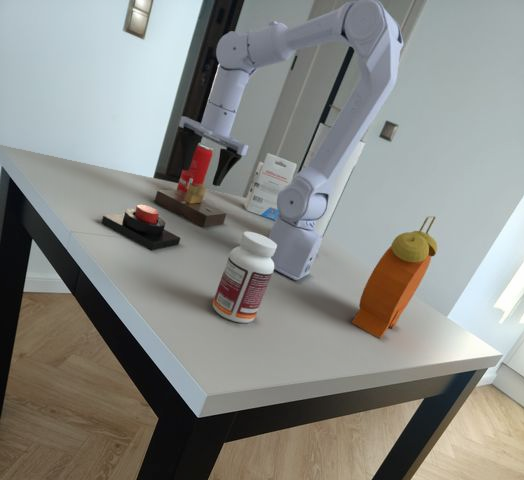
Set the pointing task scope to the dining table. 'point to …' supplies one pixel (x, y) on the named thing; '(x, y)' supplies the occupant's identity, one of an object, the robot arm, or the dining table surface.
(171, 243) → the box
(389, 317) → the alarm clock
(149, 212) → the bell button
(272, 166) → the ink box
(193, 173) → the beverage can
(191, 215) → the plate
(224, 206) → the dining table surface
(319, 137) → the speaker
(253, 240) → the pill bottle
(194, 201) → the lock knob
